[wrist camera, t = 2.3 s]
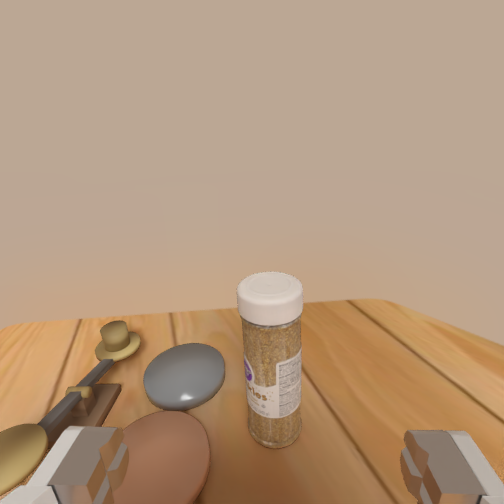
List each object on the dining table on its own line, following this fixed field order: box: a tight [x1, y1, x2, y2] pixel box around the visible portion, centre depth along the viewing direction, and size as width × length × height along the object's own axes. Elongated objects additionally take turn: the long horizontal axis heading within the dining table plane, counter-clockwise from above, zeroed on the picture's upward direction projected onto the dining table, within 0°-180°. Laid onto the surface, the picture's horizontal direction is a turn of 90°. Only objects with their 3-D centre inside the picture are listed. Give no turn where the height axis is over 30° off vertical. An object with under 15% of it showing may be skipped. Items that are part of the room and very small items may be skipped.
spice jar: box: [237, 272, 303, 448], centre depth 23 cm, size 5×5×13 cm
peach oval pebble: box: [113, 411, 210, 504], centre depth 23 cm, size 8×8×1 cm
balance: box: [0, 321, 141, 496], centre depth 26 cm, size 5×19×5 cm, turn 178°
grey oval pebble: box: [143, 343, 225, 411], centre depth 31 cm, size 8×8×1 cm
